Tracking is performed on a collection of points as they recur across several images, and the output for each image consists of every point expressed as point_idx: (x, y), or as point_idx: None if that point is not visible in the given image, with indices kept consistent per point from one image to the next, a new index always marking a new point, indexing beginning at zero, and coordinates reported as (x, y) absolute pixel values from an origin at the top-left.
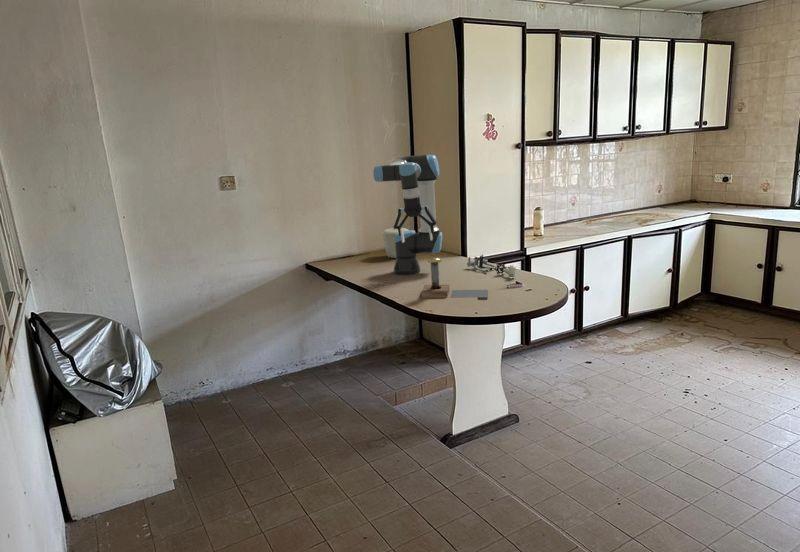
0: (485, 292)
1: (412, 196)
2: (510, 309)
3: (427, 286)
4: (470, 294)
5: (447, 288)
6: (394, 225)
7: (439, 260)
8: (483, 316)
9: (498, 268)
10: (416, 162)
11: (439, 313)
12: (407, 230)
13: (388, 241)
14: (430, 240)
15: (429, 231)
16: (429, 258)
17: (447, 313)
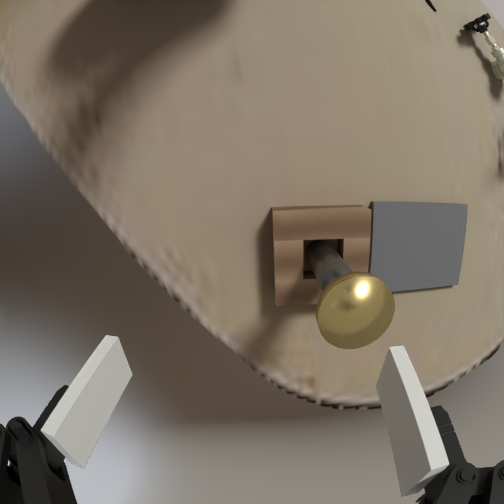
0: (460, 237)
1: None
2: (471, 348)
3: (288, 239)
4: (424, 258)
5: (366, 268)
6: (16, 474)
7: (382, 329)
8: None
9: (476, 23)
10: None
11: (333, 395)
12: None
13: None
14: (377, 385)
15: (397, 456)
16: (329, 306)
17: (351, 393)
